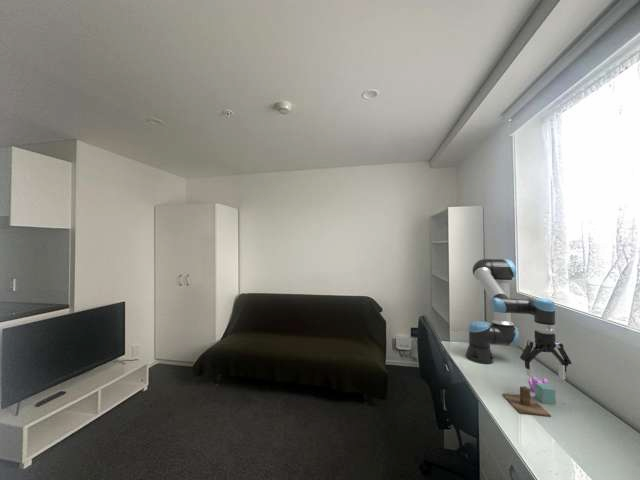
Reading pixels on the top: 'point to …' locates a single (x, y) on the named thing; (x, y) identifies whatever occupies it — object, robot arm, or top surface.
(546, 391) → the teal rectangular block
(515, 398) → the brown square panel
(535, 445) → the top surface
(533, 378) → the bracket
